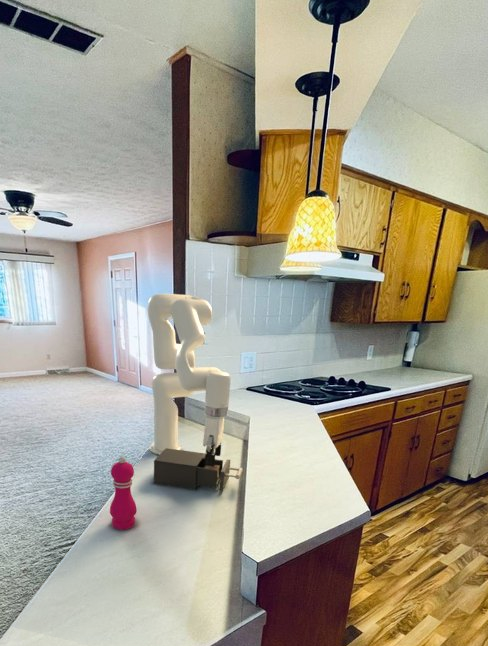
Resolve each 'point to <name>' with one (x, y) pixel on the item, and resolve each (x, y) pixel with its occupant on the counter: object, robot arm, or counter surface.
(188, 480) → the drawer cabinet
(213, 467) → the block
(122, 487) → the pepper mill
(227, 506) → the counter surface
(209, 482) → the drawer
